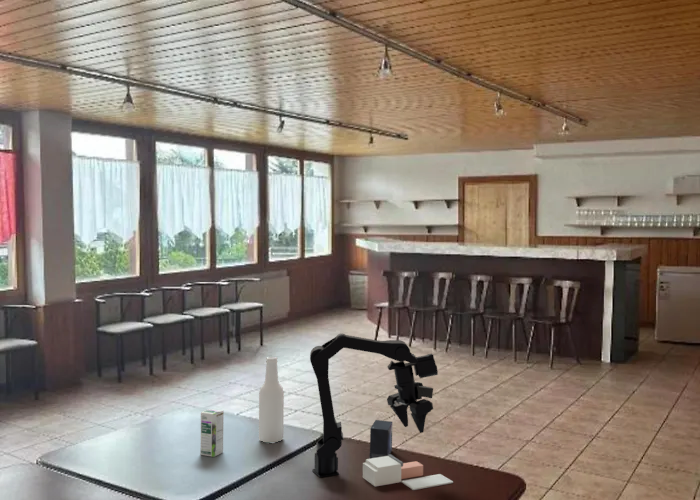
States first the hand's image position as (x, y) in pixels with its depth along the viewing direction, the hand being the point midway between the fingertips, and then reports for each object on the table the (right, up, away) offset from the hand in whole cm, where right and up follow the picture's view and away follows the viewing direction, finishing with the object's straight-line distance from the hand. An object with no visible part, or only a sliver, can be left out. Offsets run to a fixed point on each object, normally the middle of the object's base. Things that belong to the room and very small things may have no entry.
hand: (413, 429), depth 207 cm
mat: (+3, -14, -8) cm, 16 cm away
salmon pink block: (-4, -14, -3) cm, 15 cm away
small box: (-10, -13, +17) cm, 23 cm away
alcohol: (-49, -13, +31) cm, 59 cm away
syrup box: (-67, -13, +16) cm, 70 cm away
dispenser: (-10, -14, -6) cm, 18 cm away
